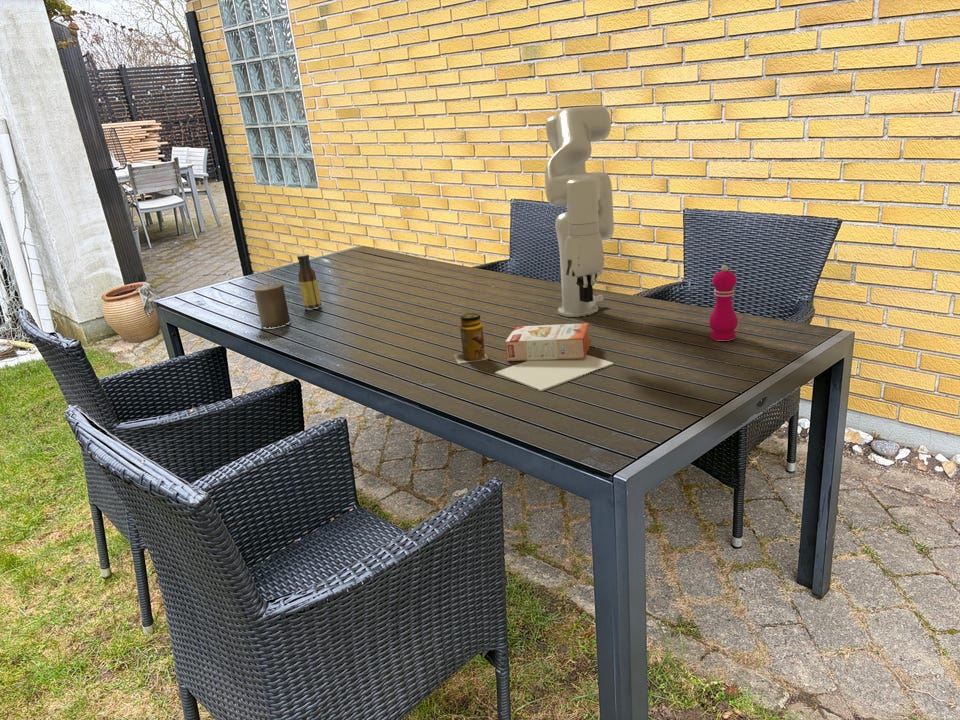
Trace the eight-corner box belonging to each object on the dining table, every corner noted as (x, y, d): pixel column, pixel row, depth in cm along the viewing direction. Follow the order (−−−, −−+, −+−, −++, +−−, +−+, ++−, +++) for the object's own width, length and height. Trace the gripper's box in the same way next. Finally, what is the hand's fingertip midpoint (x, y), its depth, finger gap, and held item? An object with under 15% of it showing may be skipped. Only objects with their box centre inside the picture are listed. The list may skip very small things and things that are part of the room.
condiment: (489, 359, 197) (485, 316, 193) (458, 364, 195) (453, 321, 191) (483, 351, 204) (479, 310, 200) (453, 356, 202) (448, 314, 198)
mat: (565, 349, 199) (565, 348, 199) (613, 364, 185) (613, 362, 185) (495, 373, 186) (495, 372, 186) (541, 391, 172) (541, 389, 172)
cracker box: (583, 336, 186) (503, 341, 191) (586, 359, 188) (506, 362, 193) (589, 321, 199) (514, 325, 204) (591, 342, 200) (516, 346, 206)
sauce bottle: (317, 305, 270) (308, 252, 264) (325, 307, 266) (316, 253, 259) (301, 309, 267) (291, 255, 260) (309, 312, 262) (299, 257, 255)
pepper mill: (738, 335, 198) (741, 262, 191) (735, 343, 192) (737, 268, 185) (711, 333, 201) (712, 261, 194) (706, 342, 195) (708, 268, 188)
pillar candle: (296, 323, 249) (288, 280, 244) (271, 331, 242) (262, 287, 237) (280, 320, 255) (272, 278, 251) (255, 327, 249) (247, 284, 244)
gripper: (594, 223, 188) (597, 292, 194) (550, 233, 180) (554, 305, 186) (616, 225, 182) (617, 297, 188) (571, 235, 174) (574, 310, 180)
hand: (586, 300), depth 187 cm, fingers closed
